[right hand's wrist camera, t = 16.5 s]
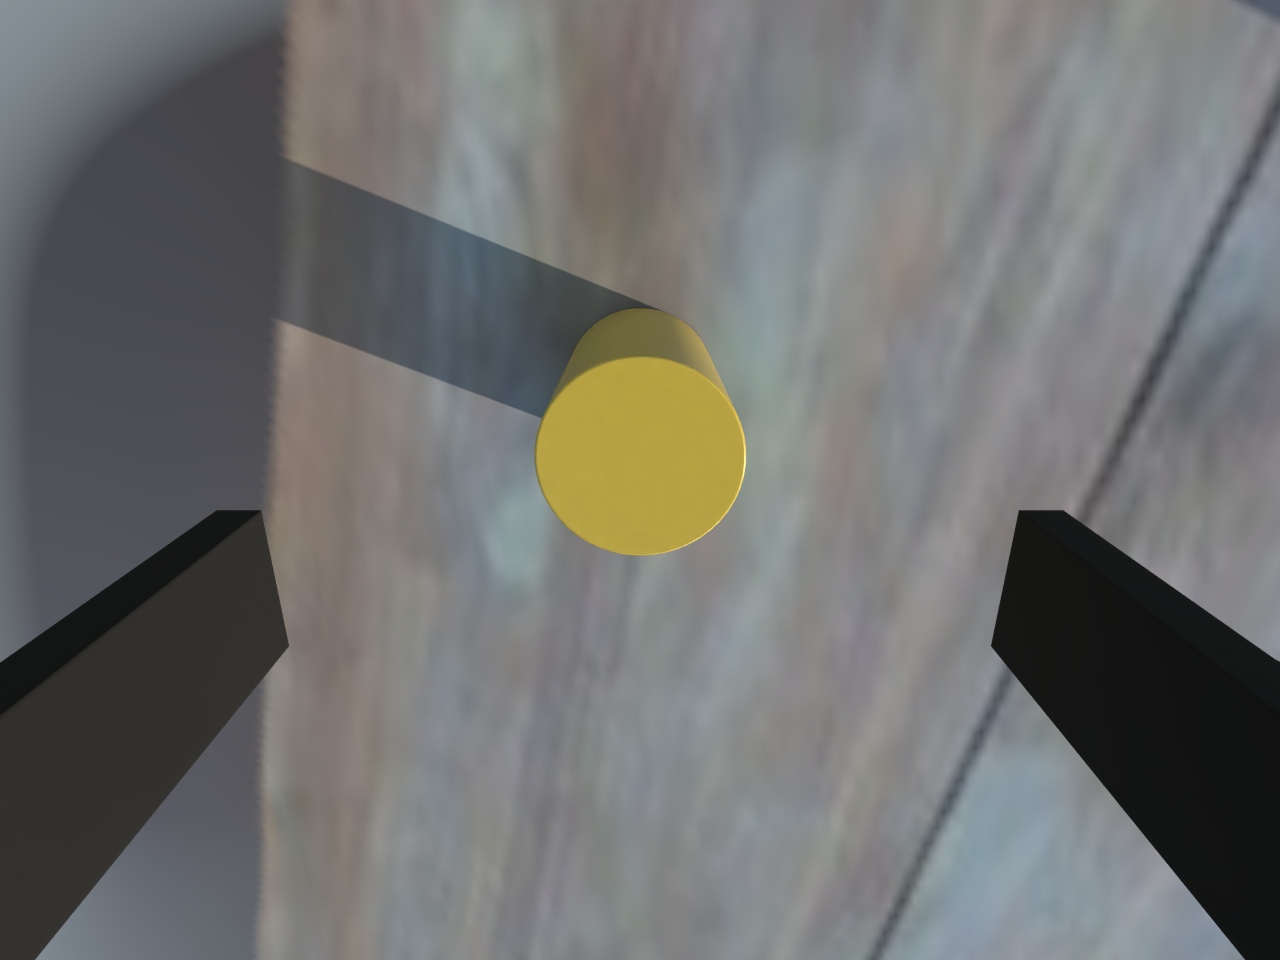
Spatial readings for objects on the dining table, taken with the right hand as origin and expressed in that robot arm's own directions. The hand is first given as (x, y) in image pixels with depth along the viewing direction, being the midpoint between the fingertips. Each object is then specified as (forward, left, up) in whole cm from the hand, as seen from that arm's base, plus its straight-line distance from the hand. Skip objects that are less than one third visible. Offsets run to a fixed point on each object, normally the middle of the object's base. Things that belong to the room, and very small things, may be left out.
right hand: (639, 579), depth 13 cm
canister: (0, 0, -15) cm, 15 cm away
